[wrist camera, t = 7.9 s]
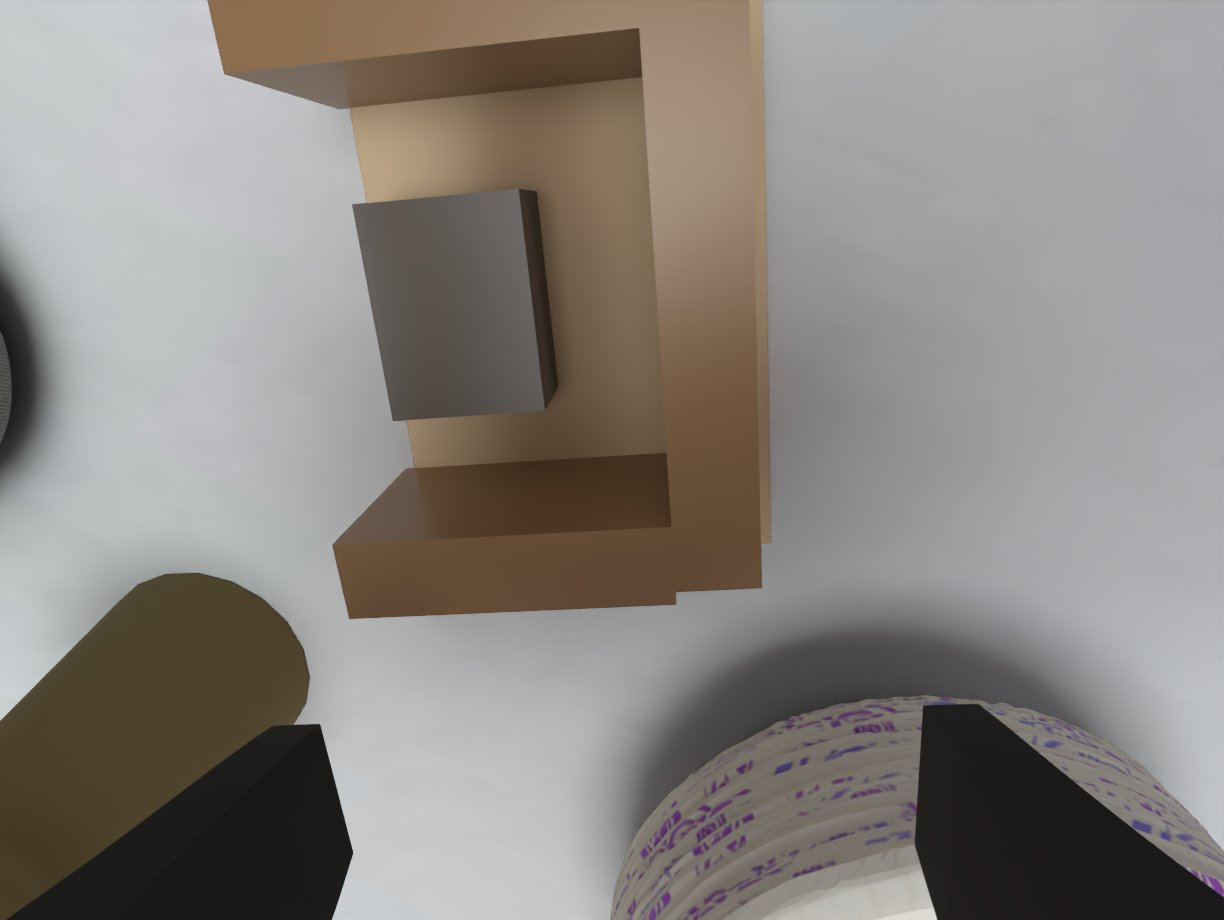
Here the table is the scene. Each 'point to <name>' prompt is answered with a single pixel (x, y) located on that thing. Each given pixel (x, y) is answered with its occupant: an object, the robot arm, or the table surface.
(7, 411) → the smart speaker
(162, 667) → the olive pepper mill
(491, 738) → the table surface
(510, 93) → the display stand
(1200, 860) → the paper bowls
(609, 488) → the wooden c-shaped bracket
